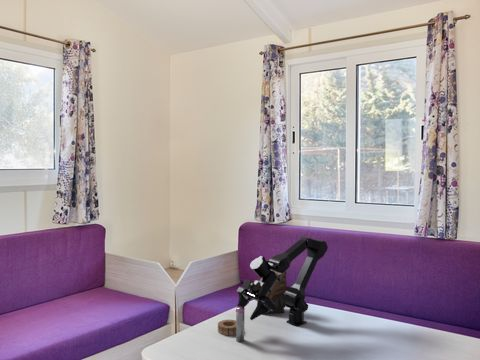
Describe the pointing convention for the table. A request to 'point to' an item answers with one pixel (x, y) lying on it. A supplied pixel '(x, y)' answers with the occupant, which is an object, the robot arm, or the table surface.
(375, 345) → the table surface
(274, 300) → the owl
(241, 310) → the purple capped tube
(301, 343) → the table surface
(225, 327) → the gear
